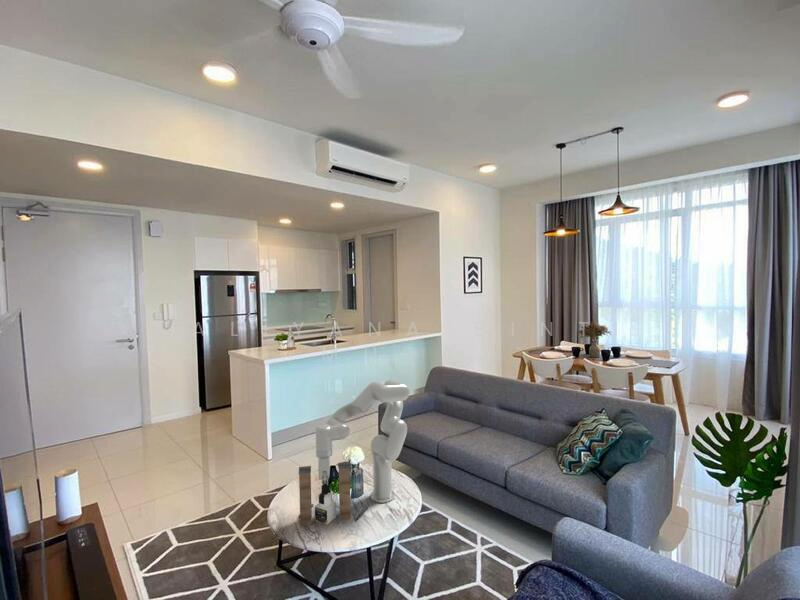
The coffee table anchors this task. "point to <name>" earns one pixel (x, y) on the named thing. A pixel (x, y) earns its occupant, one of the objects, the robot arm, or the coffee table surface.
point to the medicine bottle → (325, 509)
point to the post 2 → (344, 490)
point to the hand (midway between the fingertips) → (325, 487)
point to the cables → (357, 516)
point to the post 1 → (305, 495)
